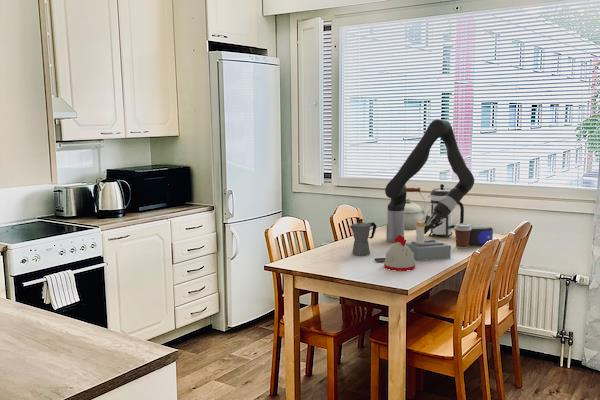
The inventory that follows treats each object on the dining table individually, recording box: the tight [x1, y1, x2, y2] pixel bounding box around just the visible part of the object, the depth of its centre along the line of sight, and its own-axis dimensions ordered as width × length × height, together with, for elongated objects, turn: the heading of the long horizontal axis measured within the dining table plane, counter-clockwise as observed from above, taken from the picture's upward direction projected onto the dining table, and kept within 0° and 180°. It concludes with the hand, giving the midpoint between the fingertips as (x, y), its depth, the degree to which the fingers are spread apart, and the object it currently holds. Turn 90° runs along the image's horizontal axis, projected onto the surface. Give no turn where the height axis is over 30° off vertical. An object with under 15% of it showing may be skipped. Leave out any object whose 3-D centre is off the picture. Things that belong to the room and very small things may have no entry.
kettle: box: [404, 187, 431, 230], centre depth 356 cm, size 25×18×25 cm
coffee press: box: [428, 184, 465, 239], centre depth 329 cm, size 17×16×30 cm
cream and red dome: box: [383, 235, 416, 272], centre depth 262 cm, size 14×14×15 cm
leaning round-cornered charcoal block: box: [469, 226, 494, 247], centre depth 305 cm, size 16×5×9 cm, turn 96°
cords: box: [374, 257, 386, 263], centre depth 275 cm, size 17×4×1 cm, turn 99°
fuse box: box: [405, 239, 452, 262], centre depth 283 cm, size 18×14×7 cm
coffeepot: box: [349, 218, 377, 257], centre depth 288 cm, size 15×9×18 cm, turn 115°
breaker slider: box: [413, 221, 427, 245], centre depth 281 cm, size 4×6×11 cm
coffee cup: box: [453, 223, 473, 250], centre depth 301 cm, size 9×9×12 cm
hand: (423, 232), depth 281 cm, fingers closed
